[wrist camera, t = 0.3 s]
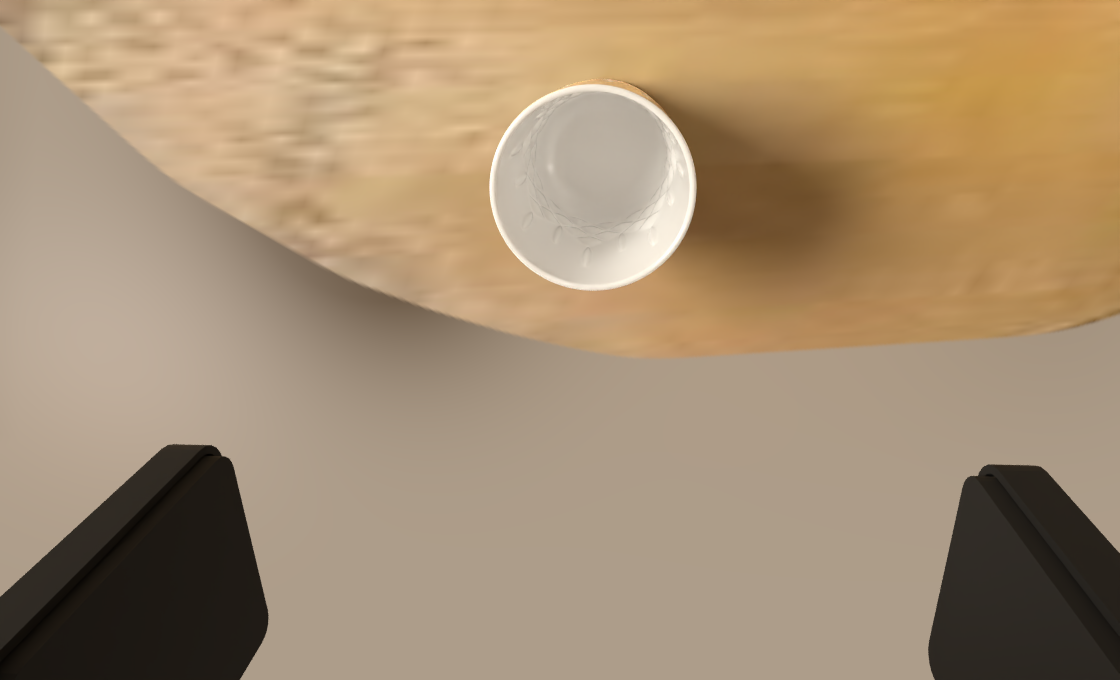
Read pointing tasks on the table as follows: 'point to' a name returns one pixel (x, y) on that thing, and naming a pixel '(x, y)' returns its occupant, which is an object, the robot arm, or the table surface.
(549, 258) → the white cup
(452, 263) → the table surface
